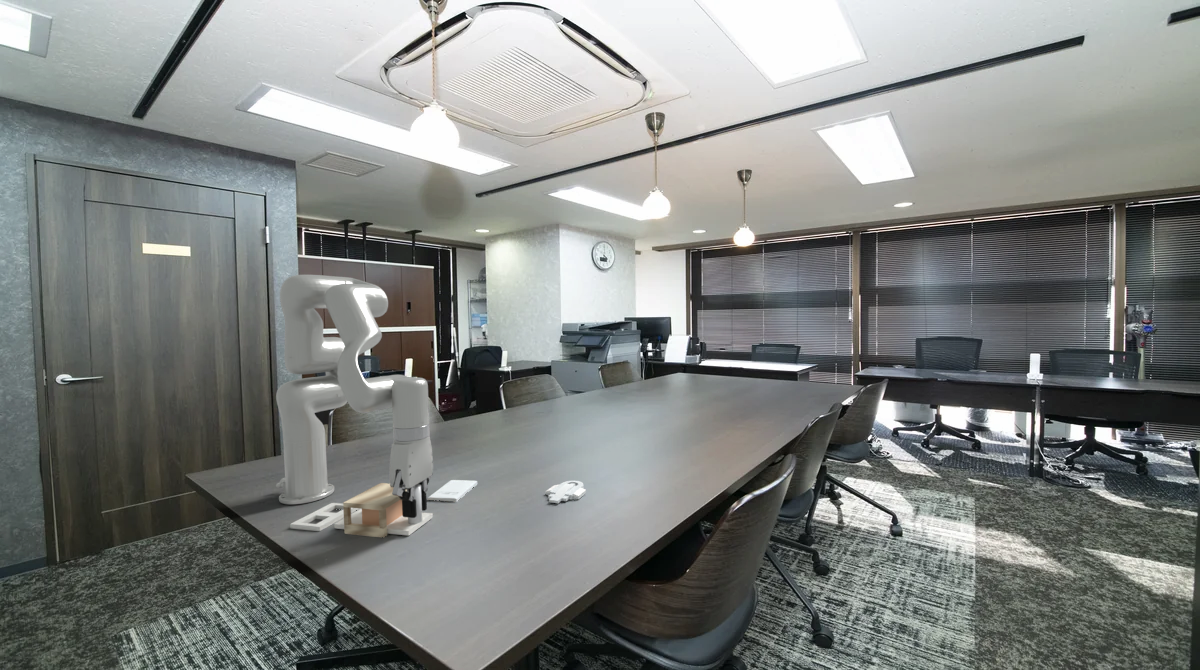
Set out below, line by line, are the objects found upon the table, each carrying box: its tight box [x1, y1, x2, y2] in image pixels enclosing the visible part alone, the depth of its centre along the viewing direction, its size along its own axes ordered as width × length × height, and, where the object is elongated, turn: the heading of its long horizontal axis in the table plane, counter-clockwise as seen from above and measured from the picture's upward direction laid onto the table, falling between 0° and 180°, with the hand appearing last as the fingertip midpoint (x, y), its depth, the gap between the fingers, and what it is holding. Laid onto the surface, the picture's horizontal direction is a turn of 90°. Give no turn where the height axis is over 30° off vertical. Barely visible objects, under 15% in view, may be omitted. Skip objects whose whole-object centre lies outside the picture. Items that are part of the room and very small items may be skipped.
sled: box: [333, 484, 434, 536], centre depth 106 cm, size 19×9×9 cm, turn 77°
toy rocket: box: [545, 480, 587, 504], centre depth 123 cm, size 16×10×2 cm, turn 157°
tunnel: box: [342, 482, 407, 539], centre depth 106 cm, size 10×12×7 cm
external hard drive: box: [426, 479, 478, 503], centre depth 125 cm, size 2×8×12 cm
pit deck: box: [289, 502, 360, 532], centre depth 110 cm, size 8×12×1 cm, turn 167°
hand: (414, 512), depth 104 cm, fingers closed on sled, 3 cm apart
